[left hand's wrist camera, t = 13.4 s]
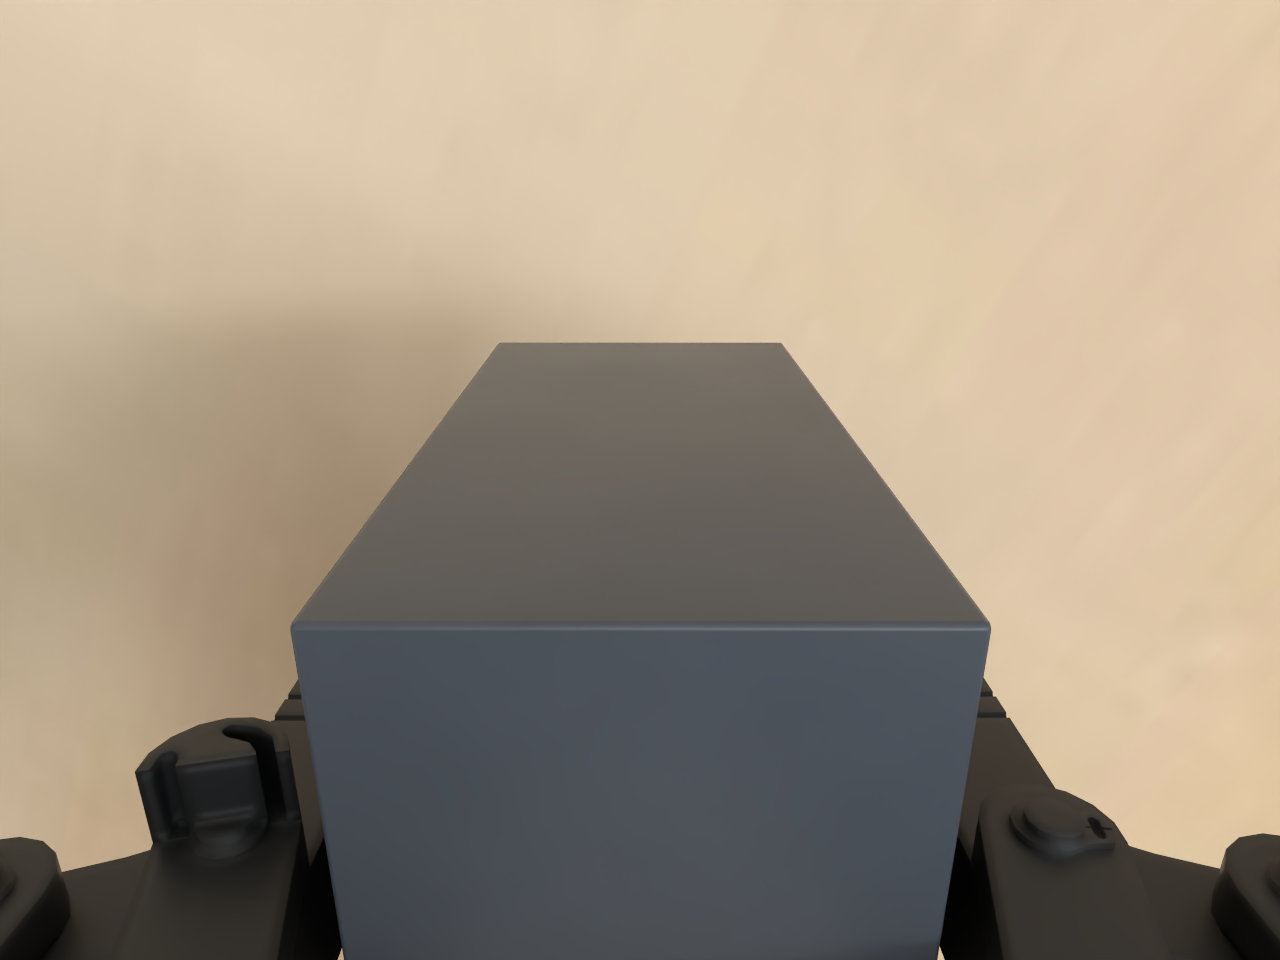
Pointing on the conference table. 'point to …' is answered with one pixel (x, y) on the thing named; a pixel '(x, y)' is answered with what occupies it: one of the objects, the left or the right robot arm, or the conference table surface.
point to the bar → (640, 677)
